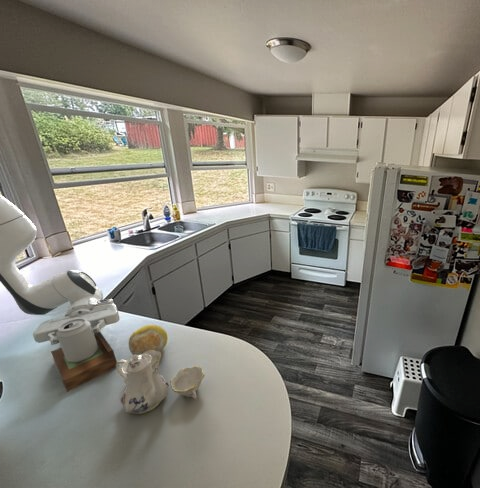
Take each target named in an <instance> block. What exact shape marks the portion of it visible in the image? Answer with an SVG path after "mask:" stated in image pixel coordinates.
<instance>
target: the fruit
mask: <svg viewBox="0 0 480 488" xmlns="http://www.w3.org/2000/svg"><path fill="white" fill-rule="evenodd" d="M167 343H168V334H167V330H165V328H163V327H162V326H161V325H158V324H148V325H144V326H142V327H139V328H138V329H136V330H135V331H134V332H133V333H132V334H131V335H130V337H129V339H128V349H129V351H130V353H131V354H132V355H133V356H134V355H140V354H141V355H142V353H144V352H145V351H147V350H155V351H160V352H161V351H162V350H163V349H164V348H165V347H166V346H167Z"/></svg>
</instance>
